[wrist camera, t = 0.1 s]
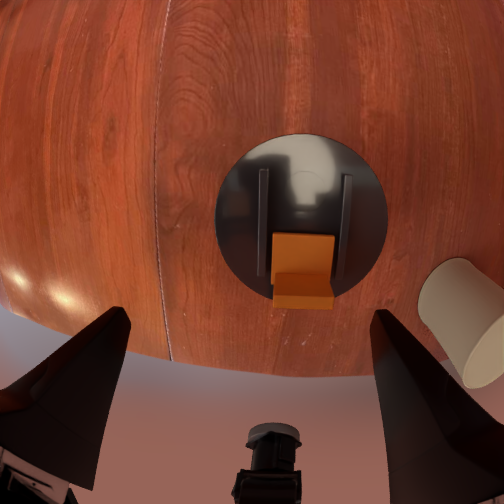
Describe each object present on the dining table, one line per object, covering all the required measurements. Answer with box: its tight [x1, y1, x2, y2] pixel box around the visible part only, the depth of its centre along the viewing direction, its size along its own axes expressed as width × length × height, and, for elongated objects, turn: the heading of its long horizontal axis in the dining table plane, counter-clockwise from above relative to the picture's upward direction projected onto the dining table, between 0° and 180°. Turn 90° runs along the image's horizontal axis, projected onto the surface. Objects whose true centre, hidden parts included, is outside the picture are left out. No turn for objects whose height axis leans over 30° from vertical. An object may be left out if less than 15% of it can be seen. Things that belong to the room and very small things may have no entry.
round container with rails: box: [214, 134, 388, 300], centre depth 20 cm, size 11×11×9 cm
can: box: [418, 258, 504, 389], centre depth 20 cm, size 9×9×12 cm
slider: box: [271, 232, 335, 310], centre depth 15 cm, size 3×4×3 cm
